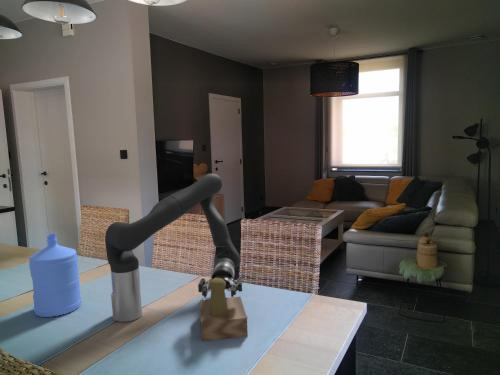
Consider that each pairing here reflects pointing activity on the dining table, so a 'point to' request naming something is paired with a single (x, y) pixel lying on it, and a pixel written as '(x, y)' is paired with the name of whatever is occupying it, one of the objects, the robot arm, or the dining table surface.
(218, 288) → the cork
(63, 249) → the water jug
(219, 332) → the walnut block
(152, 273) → the dining table surface
